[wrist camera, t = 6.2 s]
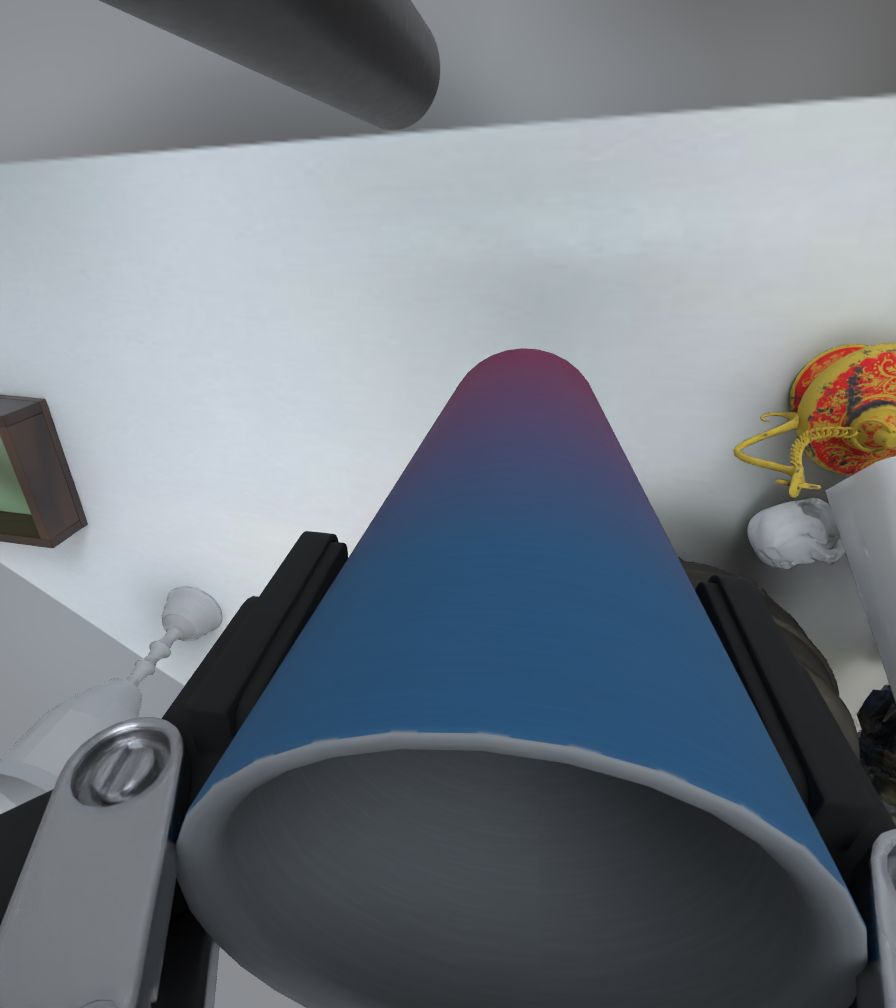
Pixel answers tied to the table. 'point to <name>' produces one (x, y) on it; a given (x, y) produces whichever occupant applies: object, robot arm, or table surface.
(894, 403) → the magic lamp
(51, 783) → the chalice
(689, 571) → the pot
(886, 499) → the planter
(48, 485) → the brown wooden tray
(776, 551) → the bird skull
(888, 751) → the decorative rock
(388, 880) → the cup
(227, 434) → the table surface
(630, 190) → the table surface
